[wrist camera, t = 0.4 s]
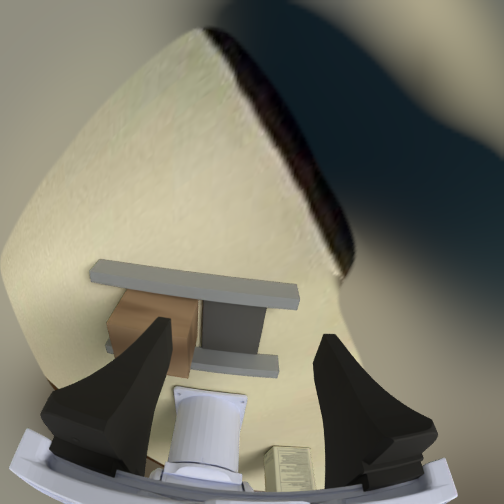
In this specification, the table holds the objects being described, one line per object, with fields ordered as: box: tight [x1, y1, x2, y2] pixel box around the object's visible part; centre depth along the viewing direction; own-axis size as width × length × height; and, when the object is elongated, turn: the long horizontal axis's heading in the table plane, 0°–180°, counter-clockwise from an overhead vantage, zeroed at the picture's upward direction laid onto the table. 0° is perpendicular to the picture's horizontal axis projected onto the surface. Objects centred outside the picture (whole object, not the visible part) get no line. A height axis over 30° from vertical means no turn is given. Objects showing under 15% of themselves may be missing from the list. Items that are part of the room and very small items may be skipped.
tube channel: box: [89, 259, 300, 378], centre depth 23 cm, size 9×16×2 cm, turn 83°
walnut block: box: [106, 289, 198, 378], centre depth 22 cm, size 4×6×5 cm
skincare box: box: [264, 446, 316, 492], centre depth 31 cm, size 6×4×12 cm
